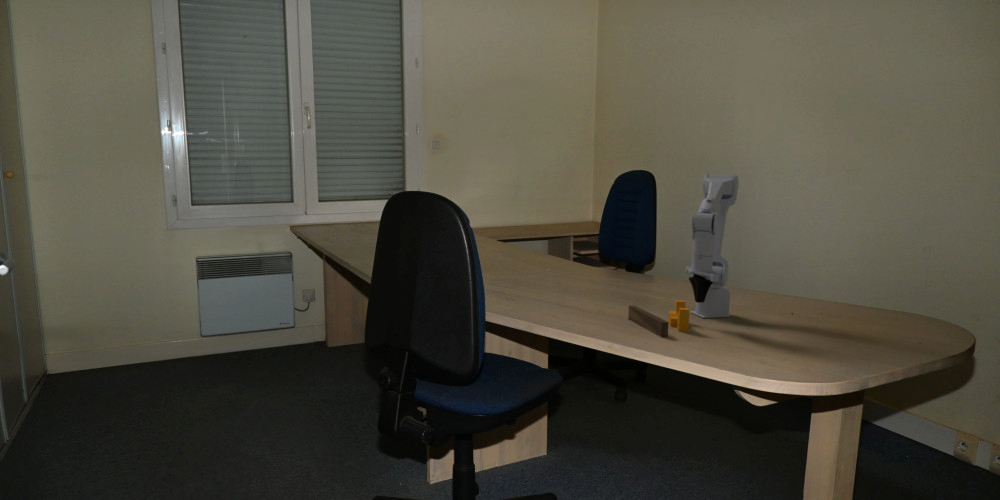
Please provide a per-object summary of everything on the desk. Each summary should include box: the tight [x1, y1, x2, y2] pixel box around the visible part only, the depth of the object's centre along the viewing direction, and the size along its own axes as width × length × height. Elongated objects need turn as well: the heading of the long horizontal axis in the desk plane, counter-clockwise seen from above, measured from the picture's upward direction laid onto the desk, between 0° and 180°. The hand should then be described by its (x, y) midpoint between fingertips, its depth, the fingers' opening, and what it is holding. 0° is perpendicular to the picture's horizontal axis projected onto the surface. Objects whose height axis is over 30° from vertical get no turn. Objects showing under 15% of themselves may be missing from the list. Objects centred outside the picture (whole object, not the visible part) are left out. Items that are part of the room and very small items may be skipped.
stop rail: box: [627, 305, 669, 338], centre depth 188 cm, size 2×20×4 cm, turn 14°
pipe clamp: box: [667, 299, 691, 333], centre depth 190 cm, size 12×4×6 cm, turn 171°
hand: (699, 302), depth 191 cm, fingers closed
